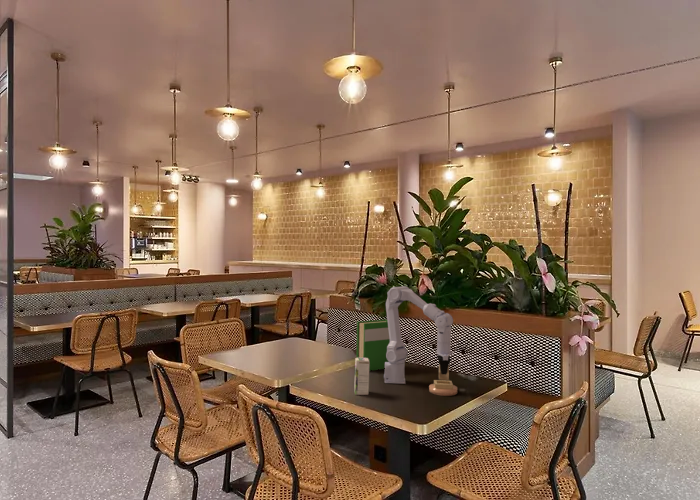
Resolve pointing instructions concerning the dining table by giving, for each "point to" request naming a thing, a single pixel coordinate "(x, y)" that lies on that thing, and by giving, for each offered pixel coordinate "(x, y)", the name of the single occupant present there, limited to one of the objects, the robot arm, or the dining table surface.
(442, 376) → the tall wooden block
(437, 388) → the tan rounded piece
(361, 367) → the syrup box
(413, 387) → the dining table surface
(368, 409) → the dining table surface
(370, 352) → the hardback book
